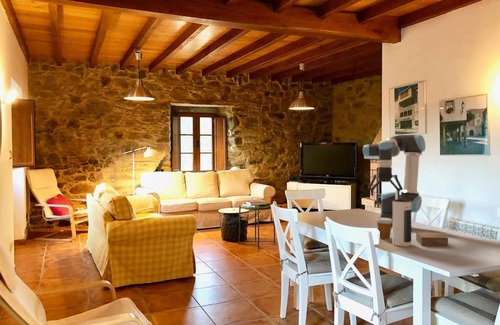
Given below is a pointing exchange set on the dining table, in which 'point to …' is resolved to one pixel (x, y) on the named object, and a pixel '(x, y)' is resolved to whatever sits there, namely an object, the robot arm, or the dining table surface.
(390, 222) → the disposable coffee cup
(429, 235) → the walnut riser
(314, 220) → the dining table surface
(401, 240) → the speaker
